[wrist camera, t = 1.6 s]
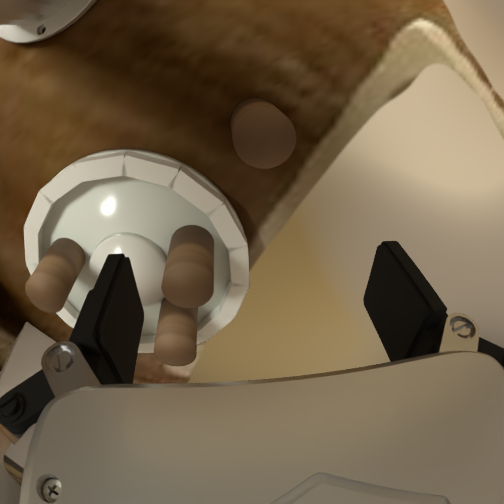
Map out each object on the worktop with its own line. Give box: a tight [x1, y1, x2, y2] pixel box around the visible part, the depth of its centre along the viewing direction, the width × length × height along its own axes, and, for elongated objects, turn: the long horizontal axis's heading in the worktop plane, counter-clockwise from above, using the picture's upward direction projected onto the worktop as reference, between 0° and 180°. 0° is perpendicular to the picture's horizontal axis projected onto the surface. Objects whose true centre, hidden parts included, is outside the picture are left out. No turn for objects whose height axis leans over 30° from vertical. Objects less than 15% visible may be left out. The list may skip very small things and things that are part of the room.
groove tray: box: [24, 148, 250, 353], centre depth 28 cm, size 22×22×2 cm
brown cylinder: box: [25, 238, 85, 313], centre depth 25 cm, size 4×4×6 cm
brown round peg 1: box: [161, 225, 214, 308], centre depth 25 cm, size 4×4×6 cm
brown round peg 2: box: [153, 298, 198, 366], centre depth 29 cm, size 4×4×6 cm
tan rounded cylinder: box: [230, 98, 296, 169], centre depth 21 cm, size 4×4×6 cm
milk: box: [0, 322, 57, 398], centre depth 26 cm, size 6×6×22 cm
